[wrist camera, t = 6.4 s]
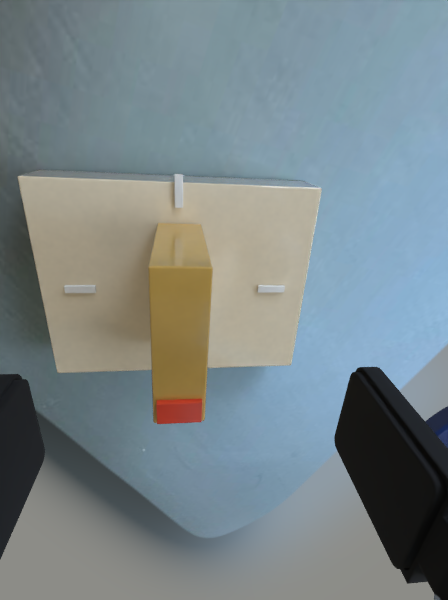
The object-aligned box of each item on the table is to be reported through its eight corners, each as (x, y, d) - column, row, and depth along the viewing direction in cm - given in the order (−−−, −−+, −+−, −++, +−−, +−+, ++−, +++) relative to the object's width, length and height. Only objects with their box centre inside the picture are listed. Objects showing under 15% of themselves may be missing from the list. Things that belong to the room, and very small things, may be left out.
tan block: (157, 222, 15) (147, 269, 10) (201, 224, 15) (214, 270, 10) (159, 344, 18) (153, 428, 13) (197, 343, 18) (205, 426, 13)
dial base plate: (305, 173, 18) (325, 180, 15) (279, 346, 22) (291, 372, 20) (37, 161, 16) (12, 167, 13) (70, 351, 21) (57, 380, 18)
